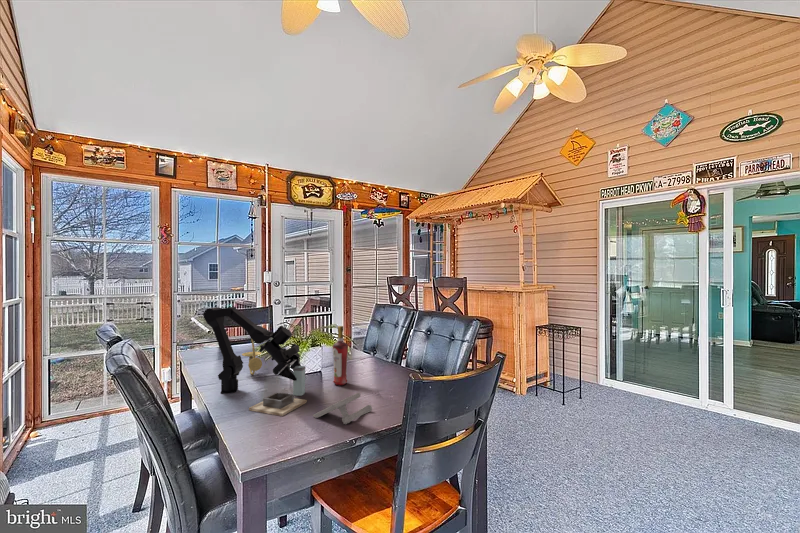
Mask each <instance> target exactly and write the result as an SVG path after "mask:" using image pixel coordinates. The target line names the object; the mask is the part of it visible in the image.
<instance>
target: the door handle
mask: <svg viewBox="0 0 800 533" xmlns="http://www.w3.org/2000/svg"><path fill="white" fill-rule="evenodd" d="M359 398H361V392H356V393H354V394H352V395H350V396H348V397H345V398H344V399H342V400H339V401H337V402H336V403H334V404H332V405H330V406H328V407H326V408H324V409H322V410H320V411H318V412H316V413H314V414H313V415H312V416H313V418H315V419H317V418H320V417H322V416H324V415H326V414H328V413H329V414H330V413H331V412H333V411H335V410H337V409H338V410H339V411H340V414H341V416H342V418H341V421H342V423H343V425H347V424H349V423H351V422H352V421H353V420H356V419H357V418H359V417H361V416H364V415H365V414H368V413H370V412H372V411H373V407H372V405H371V404H367V405H365V406H363V407H362V408H360V409H359V410H358V409H357V411H355V412H352V413H350V414H349V413H348V410H347V407H346V406H347V404H349V403H351V402H353V401H355V400H357V399H359Z"/></svg>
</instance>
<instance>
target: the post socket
mask: <svg viewBox="0 0 800 533" xmlns="http://www.w3.org/2000/svg"><path fill="white" fill-rule="evenodd" d="M307 402H308V400H307V399H304V398H303V399H302V398H295V395H293V393H292V394H291V393H287V392H279V391H276V392H274V393H272V394H270V395H267V396H266V397H264V398H262V401H260V402H258V403H256V404H254V405H252V406H250V407H248V411H251V412H257V413H263V414H268V415H273V416H280V417H283V416H285V415H287V414H288V413H290V412H292V411H294V410H296V409H298V408H299V407H301V406H303V405H305V404H306V403H307Z"/></svg>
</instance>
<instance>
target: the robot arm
mask: <svg viewBox="0 0 800 533" xmlns="http://www.w3.org/2000/svg"><path fill="white" fill-rule="evenodd" d="M202 316H203V319H204V321H205V322H206V324H207V325H208V326H209V327H210V328H212V331H213V333H214V337H215V339H216V341H217V345H218V347H219V349H220V353H221V355H222V369H223V370H222V371H220V372H219V374H218V375H217V376H218V380H219V381H221V382H220V384H221V385H220V386H221V388H220V389H221V390H220V394H231V393H237V390H238V389H239V379H238V377H237V376H239V375H240V372H241V371H242V370H243V367H244V361H243V359H242V356H241V355H236V354H235V352H234V349H233V347H232V344H231V340H230V338H229V335H228V333H227V330H226V327H225V324H224V323H225V317H228V318H230V319H231V320H232V321H234V322H235V323H236V324H237V325H238V326H239V327H240V328H242V329H243V330H244V331H246V332H247V333H248V335H249V337H250V339H252V340H253V341H254V344H257V345H260V344H261V345H260V346H259V348H260V349H259V352H261V353H262V352H264V351H266V352H267V354H268V355H269V356H270V357H271V361H272V362H273V361H275V362H276V363H277V364H276V365H275V366H274V367H273V368H272V373H273V375H274V376H280V377H283V378H286V379H289V380H291V381H293V380H294V381H296V380H297V378H296V377H295V375H294V374H293V368H294V367H296V366H302V365H301V363H300V361H301V355H300V353H299V352H301V351H300V348H301V347H300V345H298V344H297V343H294V344H291V346H290V348H288V349H286V347H284V348H283V347H281V345H282V346H283V345H284V344H286V343H287V341H288V340H290V338H292V336H293V333H292V331H291V330H290V329H288V328H287V327H285V326H284V325H280V326H278V328H277V329H276V330H275V331H274V332H273V331H270V330H269V329H268V328H265V327H263V326H261V325H257V324H256V323H254V322H253V321H252V320H251V319H249V317H247V316H246V315H244V314H243V313H242V312H240V310H238V309H237V308H236V307H235V306H229V307H224V308H223V307H222V308H221V307H219V306H216V307H208V308H206V309H205V310H204V311H203V314H202ZM252 340H251V341H252ZM263 343H264V344H263Z"/></svg>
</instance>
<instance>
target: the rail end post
mask: <svg viewBox="0 0 800 533" xmlns="http://www.w3.org/2000/svg"><path fill="white" fill-rule="evenodd" d="M292 373H293V374H294V375H295V377H296V378H297V380H296V381H294V380H292V394H293V395H294V396H297V397H298V396H300V397H302V396H303V395H305V394H306V366H305V365H301V366H296V367H294V368H293V369H292Z"/></svg>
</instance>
